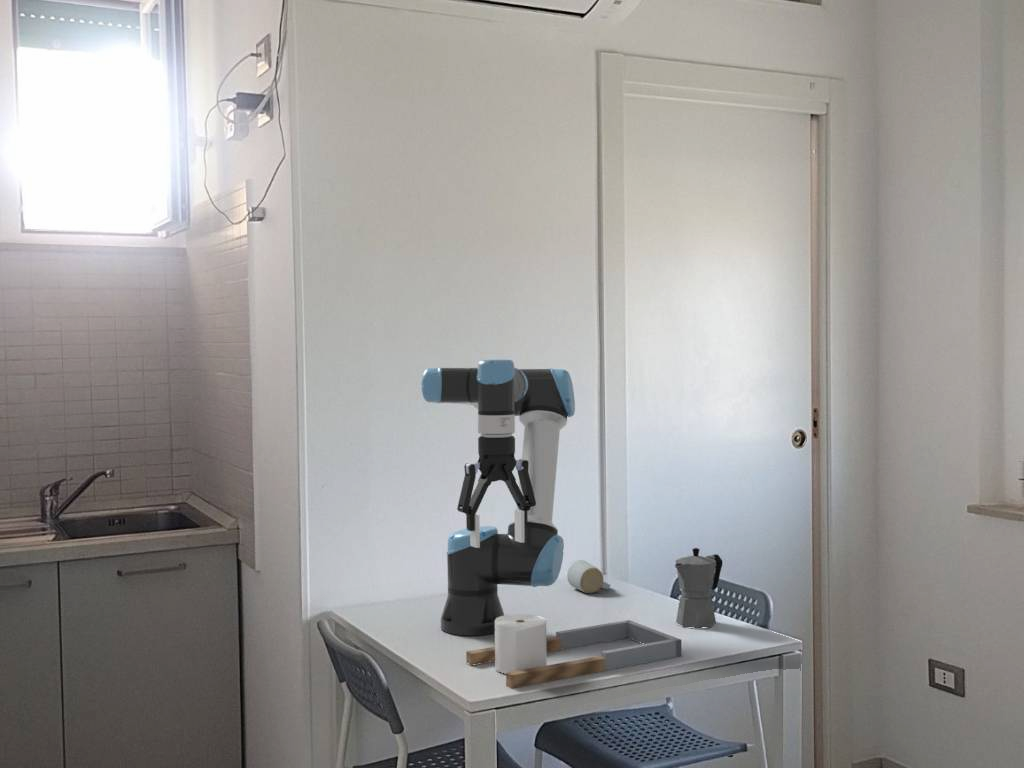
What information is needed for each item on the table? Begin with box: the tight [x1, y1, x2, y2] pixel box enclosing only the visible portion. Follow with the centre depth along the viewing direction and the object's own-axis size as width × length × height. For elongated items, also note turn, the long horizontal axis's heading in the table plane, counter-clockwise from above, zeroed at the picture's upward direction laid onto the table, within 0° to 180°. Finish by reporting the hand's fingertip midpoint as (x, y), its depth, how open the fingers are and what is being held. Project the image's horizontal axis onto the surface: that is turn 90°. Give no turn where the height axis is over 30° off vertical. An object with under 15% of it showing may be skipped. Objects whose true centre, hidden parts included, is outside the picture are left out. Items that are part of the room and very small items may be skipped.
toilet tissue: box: [494, 613, 548, 675], centre depth 227 cm, size 11×12×10 cm
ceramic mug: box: [566, 559, 611, 594], centre depth 296 cm, size 11×8×8 cm
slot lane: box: [465, 636, 606, 689], centre depth 228 cm, size 22×19×2 cm
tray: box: [555, 619, 682, 671], centre depth 238 cm, size 20×19×4 cm
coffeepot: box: [674, 547, 723, 628], centre depth 261 cm, size 15×9×18 cm, turn 127°
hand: (497, 544), depth 227 cm, fingers open, 10 cm apart
